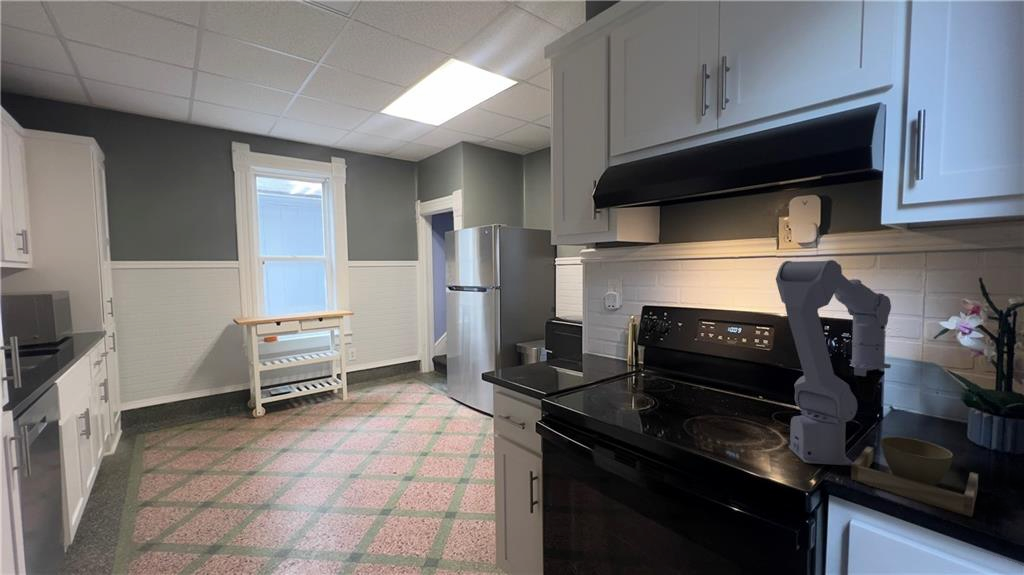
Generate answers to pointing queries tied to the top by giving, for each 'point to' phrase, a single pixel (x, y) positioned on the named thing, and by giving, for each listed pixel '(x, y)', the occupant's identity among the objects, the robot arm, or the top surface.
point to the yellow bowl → (916, 459)
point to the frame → (915, 486)
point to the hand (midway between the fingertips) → (866, 400)
